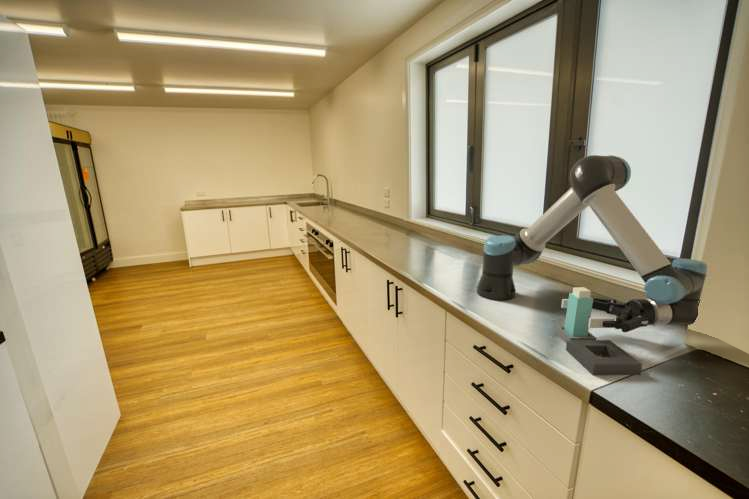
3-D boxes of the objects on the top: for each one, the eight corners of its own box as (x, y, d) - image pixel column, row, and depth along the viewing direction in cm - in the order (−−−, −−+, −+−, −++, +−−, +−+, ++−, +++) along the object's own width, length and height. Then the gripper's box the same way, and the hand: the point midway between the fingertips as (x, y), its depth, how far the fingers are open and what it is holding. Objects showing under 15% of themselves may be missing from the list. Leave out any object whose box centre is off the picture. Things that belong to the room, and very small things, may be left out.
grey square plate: (555, 333, 106) (556, 326, 106) (579, 333, 106) (580, 326, 106) (569, 345, 99) (570, 338, 98) (595, 345, 99) (596, 337, 98)
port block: (565, 349, 97) (567, 340, 96) (607, 349, 97) (609, 340, 96) (592, 374, 85) (594, 364, 84) (640, 374, 85) (642, 363, 84)
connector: (563, 336, 105) (570, 286, 101) (577, 335, 105) (585, 286, 101) (571, 343, 100) (579, 291, 97) (586, 343, 100) (594, 291, 97)
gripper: (681, 345, 89) (601, 345, 89) (614, 307, 113) (551, 307, 113) (687, 318, 87) (605, 319, 87) (618, 285, 112) (554, 286, 111)
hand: (574, 312), depth 100 cm, fingers open, 13 cm apart
